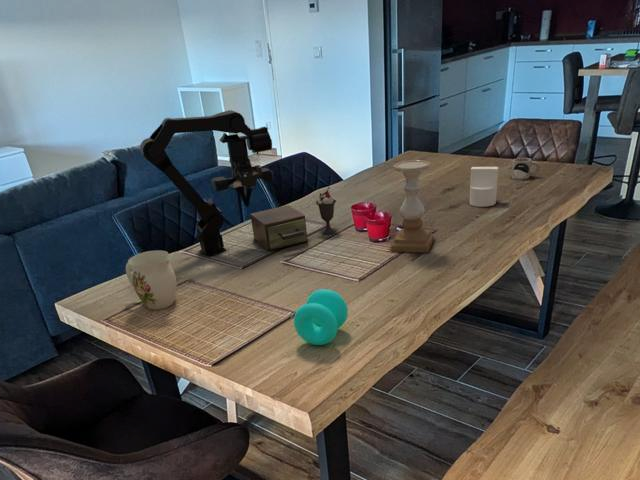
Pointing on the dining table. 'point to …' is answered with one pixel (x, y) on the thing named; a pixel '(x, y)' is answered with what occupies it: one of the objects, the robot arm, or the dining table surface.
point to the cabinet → (272, 223)
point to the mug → (523, 168)
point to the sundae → (326, 210)
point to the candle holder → (412, 211)
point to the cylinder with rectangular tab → (483, 186)
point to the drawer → (287, 233)
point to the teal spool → (321, 317)
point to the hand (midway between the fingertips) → (247, 206)
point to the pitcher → (153, 278)
